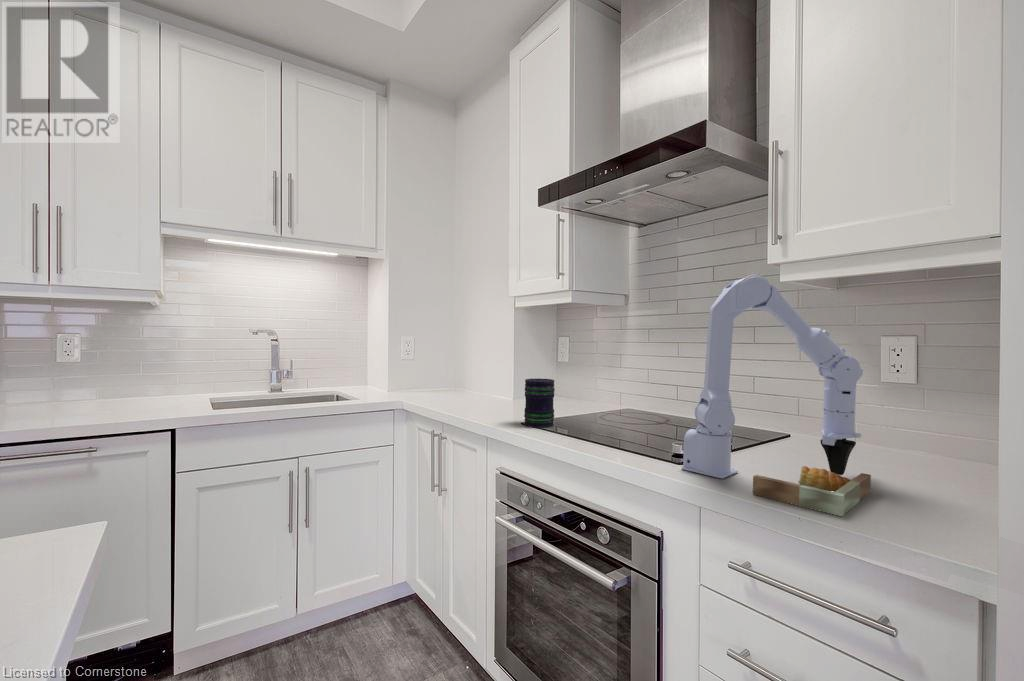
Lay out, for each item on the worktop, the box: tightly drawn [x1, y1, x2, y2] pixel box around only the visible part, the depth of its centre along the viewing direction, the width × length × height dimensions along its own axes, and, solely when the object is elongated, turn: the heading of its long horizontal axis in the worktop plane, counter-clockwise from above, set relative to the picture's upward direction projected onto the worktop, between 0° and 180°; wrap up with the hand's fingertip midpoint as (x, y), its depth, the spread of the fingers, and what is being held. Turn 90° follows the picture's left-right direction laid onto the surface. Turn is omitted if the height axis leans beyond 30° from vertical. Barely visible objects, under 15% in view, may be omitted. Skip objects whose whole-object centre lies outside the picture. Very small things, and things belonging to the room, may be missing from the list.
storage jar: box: [523, 378, 556, 429], centre depth 158 cm, size 10×10×15 cm
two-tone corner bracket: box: [752, 472, 872, 517], centre depth 93 cm, size 14×20×4 cm
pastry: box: [798, 465, 852, 492], centre depth 97 cm, size 9×7×4 cm
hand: (837, 473), depth 103 cm, fingers closed
